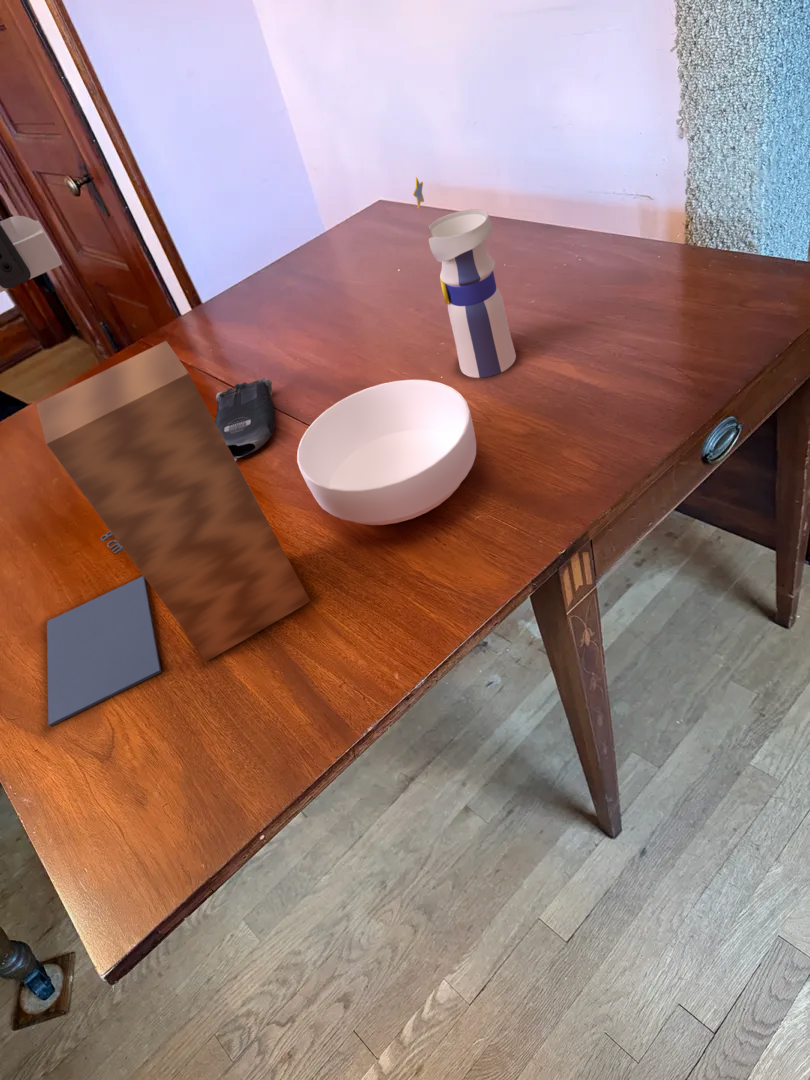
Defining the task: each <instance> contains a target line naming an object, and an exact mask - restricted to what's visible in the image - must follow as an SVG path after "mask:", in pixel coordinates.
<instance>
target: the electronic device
mask: <svg viewBox="0 0 810 1080" xmlns="http://www.w3.org/2000/svg"><path fill="white" fill-rule="evenodd" d="M272 384H273V381H272V380H271V379H270V378H268V377H263V378H260V379H258V380H254V381H252V382H248V383H247V382H245V381H244V382H241V383H236V384H234V387H235V388H234V389H233V387H232V386H230V387H228V388H227V389H226V390H224V391H223V390H222V391H219V392H217V394H216V396H215V401H216V404H217V405H216V406H217V407H216V413H215V420H214V422H215V423H216V425H217V427H218V429H219V431H220V433H221V435H222V437H223V438H224V440H225V442H226V444H227V446H228V448H229V450H230V451H231V453H232V455H233V457H234V459H235V461H236V462H237V460H238V459H240V458H243V457H245V456H248V455H250V454H252V453H254V452H256V451H257V450H259V449H260V448H262V447H264V445H265V444H266V443H267V442H269V440H270V439H271V438H272V435H273V433H274V428H275V426H276V424H275V423H276V414H275V407H274V402H273V398H272V396H273V394H272V393H273V391H272V390H273V389H272V387H273V386H272Z"/></svg>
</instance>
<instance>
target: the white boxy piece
mask: <svg viewBox="0 0 810 1080" xmlns="http://www.w3.org/2000/svg"><path fill="white" fill-rule="evenodd" d="M1 226H2V227H3V229H4V230H5V232H6V234H7V235H8V237H9V238H10V240H11V241H12V243H13V245H14V246H15V248H16V249H17V251H18V253H19V254H20V256H21V257H22V259H23V260H24V262H25V264H26V265H27V267H28V268H29V270H30V273H31V277H30V279H29V280H32V279H33V278H36V277H39V276H40V275H43V274H46V273H47V272H49V271H51V270H54V269H55V268H58V267H60V266H62V265H63V262H62V260H61V258H60V256H59V254H58V252H57V250H56V248H55V246H54V244H53V243H52V241H51V239H50V238H49V236H48V235H47V232H46V231H45V229H44V227H43V226H42V224H41V223H40V221H39V220H38V219H37V220H34V219H33V218H30V217H29V216H24V215H13V216H10V217H8V218H5V219H3V221H1ZM5 291H8V289H5V288H3V287H1V286H0V294H1V293H3V292H5Z"/></svg>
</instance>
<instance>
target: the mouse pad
mask: <svg viewBox="0 0 810 1080" xmlns="http://www.w3.org/2000/svg"><path fill="white" fill-rule="evenodd" d="M150 604H151V603H150V599H149V593H148V588H147V580H146V578H145V577H144V576H143V575H142V576H140V577H138V578H136V579H134V580H132V581H129V582H127V583H125V584H123V585H120V586H119V587H117V588H114V589H113V590H110V591H108V592H106V593H103V594H101V595H100V596H98V597H95V598H93V599H91V600H89V601H87V602H84V603H83V604H80V605H79V606H77V607H74V608H72V609H70V610H68V611H66V612H64V613H62V614H59V615H57V616H55V617H53V618H51V619H49V620H47V621H46V645H47V648H46V649H47V651H46V653H47V654H46V655H47V715H48V716H47V717H48V720H47V721H48V722H47V725H48V726H49V727H53V726H55V725H57V724H59V723H62V722H63V721H65V720H67V719H69V718H72V717H73V716H76V715H77V714H80V713H82V712H84V711H85V710H86V711H87V710H88V709H90V708H92V707H93V706H96V705H98V704H100V703H102V702H104V701H107V700H108V699H110V698H112V697H114V696H117V695H118V694H121V693H122V692H124V691H127V690H129V689H130V688H133V687H134V686H137V685H138V684H141V683H143V682H145V681H147V680H149V679H151V678H153V677H156V676H157V675H160V674H161V673H162V668H161V661H160V655H159V650H158V644H157V638H156V632H155V628H154V620H153V616H152V611H151V605H150Z"/></svg>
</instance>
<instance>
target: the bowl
mask: <svg viewBox="0 0 810 1080" xmlns="http://www.w3.org/2000/svg"><path fill="white" fill-rule="evenodd" d="M476 440H477V439H476V433H475V427H474V423H473V418H472V413H471V410H470V407H469V405H468V402H467V400H466V398H464V396H463V395H462V393H460V392H459V391H457V390H456V389H455V388H453V387H452V386H450V385H447V384H444V383H442V382H438V381H434V380H430V379H429V380H428V379H403V380H402V379H401V380H400V379H399V380H393V381H389V382H383V383H380V384H376V385H374V386H370V387H367V388H365V389H362V390H358V391H357V392H355V393H352V394H350V395H348V396H347V397H344V398H343V399H340V400H339V401H336V402H335V403H334V404H333V405H332V406H330V407H328V408H327V409H326V410H324V411H323V412H322V413H321V414H320V415H319V416H318V417H317V418H315V419H314V421H313V422H312V423H311V424H310V425H309V426H308V428H307V429H306V430H305V432H304V434H303V435H302V437H301V439H300V441H299V444H298V446H297V451H296V463H297V465H298V469H299V471H300V474H301V476H302V477H303V479H304V482H305V484H306V486H307V488H308V490H309V491H310V493H311V494H312V496H313V498H314V500H315V502H317V504H318V505H319V506H320V508H321V509H322V510H324V511H325V512H327V513H328V514H330V515H331V516H333V517H335V518H339V519H341V520H343V521H349V522H353V523H356V524H360V525H361V524H362V525H367V526H368V525H369V526H385V525H392V524H398V523H402V522H405V521H409V520H412V519H415V518H416V517H417V518H418V517H420V516H422V515H423V514H426V513H428V512H430V511H432V510H433V509H435V508H437V507H439V506H440V505H441V504H442V503H443V502H445V501H446V500H448V499H449V498H450V497H451V496H452V495H453V493H454V492H455V491H456V490H457V489H458V488H459V487H460V485H461V483H462V482H463V481H464V480H465V479H466V477H467V476H468V474H469V472H470V471H471V469H472V467H474V463H475V459H476V456H477V441H476Z"/></svg>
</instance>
